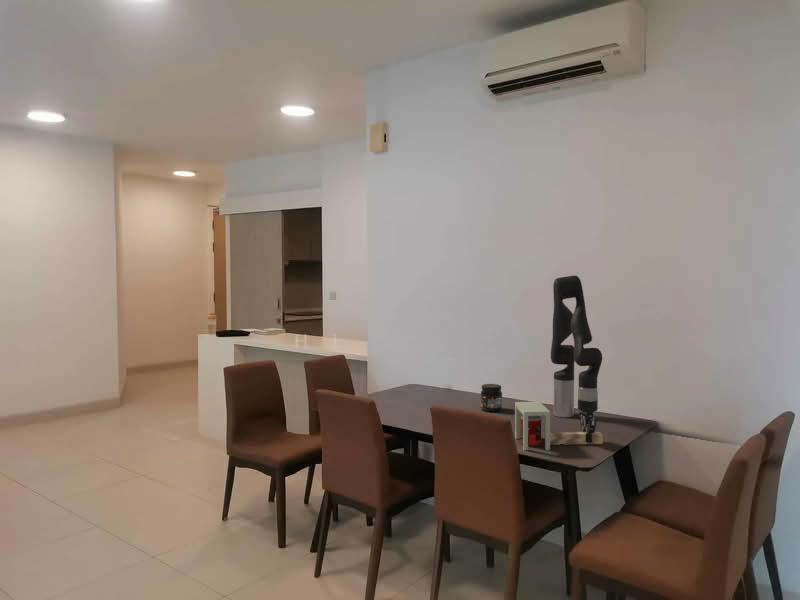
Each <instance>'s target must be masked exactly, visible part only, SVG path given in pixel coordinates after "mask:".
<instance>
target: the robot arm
mask: <svg viewBox="0 0 800 600" xmlns="http://www.w3.org/2000/svg"><path fill="white" fill-rule="evenodd" d="M552 286H553V287H552V288H553V290H552V291H553V314H552V339H551V340H552V341H551V346H550V361H551V362H552V363H553V365H561V366H562V365H564V366H565V367H564V368H563V369H559V370H557V371H555V372H554V373H553V416H555V417H558V418H559V417H560V418H572V417H574V416H575V364H576V365H578V366H580V367H588V368H587V369H586V370H583V371H581V372H579V374H578V387H577V388H578V389H577V410H579V411H580V412H579V413H578V415H579V422H580V427H581V429H582V432H586V442H587V443H591V442H592V433H594V432H596V427H597V420H595V415H594V412H597V411H598V409H599V405H598V402H599V401H598V400H599V399H598V398H599V392H598V376H599V372H600V369H601V365H602V362H603V355H602V351H601V350H600V348H598V347H584V346H585V345H588V344H590V343H591V342H593V336H592V333H591V329H590V325H589V322H588V321H589V320H588V318H587V311H586V310H587V309H586V302H585V297H584V296H585V295H584V290H583V284H582V282H581V279H580V277H579V276H578V275H568V276H561V277H557V278H555V279H554V281H553V285H552ZM573 298H574V299H575V302H576V303H575V307H574V311H573V312H572V311H571V310H570V308H569V307H568V306H566V304H565V303H564V302H563V300H567V299H573ZM571 335H572V337H573V345H572V344H562V343H564V341H565V340H567V339H568V338H569V337H570V336H571Z"/></svg>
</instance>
